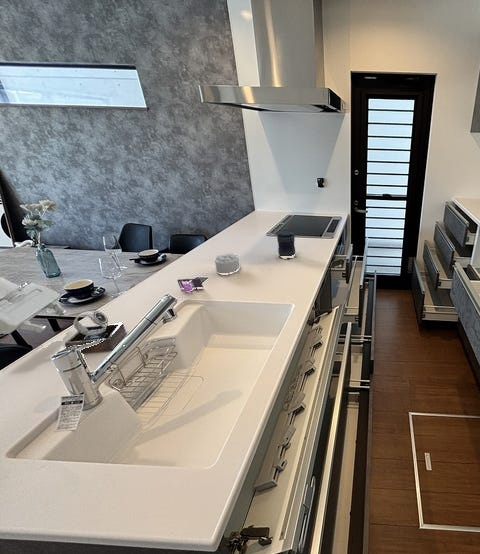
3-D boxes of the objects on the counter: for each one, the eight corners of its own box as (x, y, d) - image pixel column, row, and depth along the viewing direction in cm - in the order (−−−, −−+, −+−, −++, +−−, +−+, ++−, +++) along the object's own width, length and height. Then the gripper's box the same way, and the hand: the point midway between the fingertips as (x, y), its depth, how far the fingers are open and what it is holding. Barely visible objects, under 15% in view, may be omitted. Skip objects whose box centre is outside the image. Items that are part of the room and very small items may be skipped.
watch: (110, 343, 99) (99, 315, 94) (79, 348, 96) (66, 319, 92) (116, 334, 104) (106, 306, 99) (86, 338, 101) (75, 310, 96)
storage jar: (284, 252, 188) (282, 229, 182) (298, 255, 185) (297, 231, 179) (275, 257, 179) (273, 233, 173) (289, 260, 176) (288, 235, 170)
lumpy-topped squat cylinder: (241, 266, 165) (239, 251, 161) (235, 276, 153) (233, 260, 149) (221, 267, 163) (218, 251, 159) (213, 276, 151) (210, 260, 148)
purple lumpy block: (200, 277, 135) (177, 278, 133) (198, 285, 131) (174, 286, 129) (204, 287, 139) (182, 289, 137) (202, 295, 136) (179, 297, 133)
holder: (69, 354, 94) (64, 343, 93) (86, 337, 103) (82, 326, 101) (112, 350, 97) (108, 339, 96) (126, 333, 106) (123, 323, 104)
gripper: (22, 287, 97) (69, 311, 103) (-39, 321, 79) (23, 348, 85) (33, 274, 96) (80, 299, 102) (-26, 305, 78) (36, 333, 84)
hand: (54, 321), depth 93 cm, fingers open, 8 cm apart
